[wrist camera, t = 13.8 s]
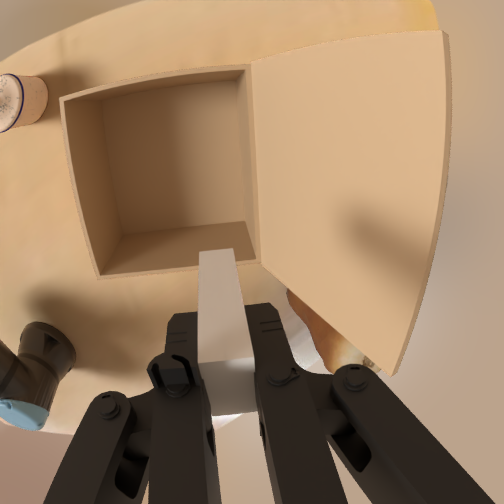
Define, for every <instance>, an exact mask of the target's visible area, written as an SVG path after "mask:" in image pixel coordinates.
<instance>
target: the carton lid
mask: <svg viewBox="0 0 504 504" xmlns="http://www.w3.org/2000/svg"><path fill="white" fill-rule="evenodd" d="M251 75H252V92H253V109H254V127H255V145H256V164H257V183H258V202H259V223H260V244H261V265H262V266H263V267H264V268H265V269H267V270H268V271H269V272H270V273H271V274H272V275H274V276H275V277H276V278H277V279H278V280H279V281H280V282H282V283H283V284H284V285H285V286H286V287H287V288H288V289H290V290H291V291H292V292H293V293H294V294H295V295H296V296H298V297H299V298H300V299H301V300H302V301H303V302H304V303H306V304H307V305H308V306H309V307H310V308H311V309H313V310H314V311H315V312H316V313H317V314H318V315H319V316H321V317H322V318H323V319H324V320H325V321H326V322H327V323H329V324H330V325H331V326H332V327H333V328H334V329H336V330H337V331H338V332H339V333H340V334H341V335H342V336H344V337H345V338H346V339H347V340H348V341H349V342H350V343H352V344H353V345H354V346H355V347H356V348H357V349H359V350H360V351H361V352H362V353H363V354H364V355H365V356H367V357H368V358H369V359H370V360H371V361H372V362H374V363H375V364H376V365H377V366H378V367H379V368H380V369H382V370H383V371H384V372H385V373H386V374H388V375H389V376H390V377H392V376H393V375H395V374H396V373H397V371H398V369H399V366H400V364H401V361H402V359H403V356H404V353H405V351H406V348H407V345H408V343H409V340H410V337H411V334H412V331H413V328H414V325H415V322H416V319H417V316H418V313H419V310H420V306H421V303H422V300H423V296H424V293H425V289H426V285H427V282H428V278H429V274H430V270H431V266H432V262H433V258H434V253H435V248H436V243H437V239H438V234H439V229H440V224H441V218H442V212H443V206H444V199H445V193H446V185H447V177H448V167H449V157H450V144H451V124H452V78H451V59H450V46H449V36H448V34H447V33H445V32H444V31H442V30H435V31H409V32H396V33H385V34H376V35H368V36H360V37H354V38H347V39H341V40H336V41H330V42H325V43H320V44H315V45H311V46H306V47H302V48H298V49H294V50H290V51H286V52H282V53H278V54H275V55H271V56H268V57H264V58H261V59H257V60H254V61H251Z"/></svg>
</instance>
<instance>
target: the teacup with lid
mask: <svg viewBox="0 0 504 504" xmlns="http://www.w3.org/2000/svg"><path fill="white" fill-rule="evenodd" d="M47 101H48V90H47V87H46V84H45V83H44V81H43V80H42V79H40V78H38V77H34V76H16V75H13V74H4V75H1V76H0V133H1V132H5V131H7V130H9V129H12V128H16V127H20V126H25V125H29V124H32V123H34V122H35V121H37V120H38V119H39V118H40V117H41V115H42V114H43V112H44V110H45V108H46V105H47Z"/></svg>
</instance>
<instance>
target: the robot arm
mask: <svg viewBox="0 0 504 504" xmlns="http://www.w3.org/2000/svg"><path fill="white" fill-rule="evenodd" d="M75 359H76V353H75V350H74V348H73V346H72V344H71V343H70V341H69V340H68V339H67V338H66V337H65V336H64V335H63V334H62V333H61V332H60V331H58V330H57V329H55V328H53V327H52V326H49V325H47V324H44V323H40V322H33V323H29V324H28V325H27V326H26V327H25V328H24V330H23V332H22V334H21V337H20V345H19V350H18V355H17V356H16V355H15V354H14V353H13V352H12V351H11V350H10V349H9V348H8V347H7V346H6V345H5V344H4V343H3V342H2V341H1V340H0V417H2V418H3V419H4V420H6V421H7V422H9V423H11V424H13V425H15V426H17V427H20V428H23V429H26V430H32V431H36V430H40V429H42V428H43V427H44V425H45V422H46V419H47V417H48V416H49V411H50V408H51V405H52V402H53V399H54V396H55V393H56V390H57V387H58V384H59V382H60V381H61V380H62V379H63V377H64V376H65V375H66V374H67V373H68V372H69V371H70V370H71V369H72V367H73V365H74V362H75ZM147 372H148V374H149V377H150V379H151V381H152V384H153V386H154V388H153V389H151V390H150V391H148V392H146V393H144V394H141V395H137V396H134V397H131V398H127V397H126V396H125V395H124V394H122V393H120V392H117V391H108V392H104V393H101V394H100V395H98V396H97V397H95V398H94V400H93V401H92V402H91V403H90V405H89V407H88V409H87V411H86V413H85V415H84V417H83V419H82V421H81V423H80V425H79V427H78V429H77V431H76V433H75V435H74V437H73V439H72V441H71V443H70V445H69V447H68V449H67V451H66V453H65V456H64V458H63V460H62V462H61V464H60V466H59V469H58V471H57V473H56V475H55V477H54V480H53V482H52V484H51V486H50V489H49V491H48V493H47V496H46V498H45V500H44V503H43V504H141V503H142V500H143V497H144V494H145V490H146V487H147V484H148V481H149V496H148V497H149V498H148V500H149V501H148V502H149V503H148V504H222V502H221V494H220V485H219V476H218V467H217V456H216V445H215V433H214V428H213V425H212V417H211V413H212V416H221V415H231V414H240V413H248V412H255V411H258V415H259V425H260V436H262V441H263V446H264V451H265V456H266V462H267V466H268V472H269V477H270V481H271V486H272V491H273V496H274V501H275V504H348V502H347V499H346V496H345V493H344V490H343V487H342V484H341V481H340V478H339V475H338V472H337V469H336V466H335V463H334V460H333V457H332V454H331V451H330V448H329V445H328V442H329V444H330V445H331V447H332V448H333V450H334V451H335V452H336V454H337V455H338V457H339V458H340V460H341V461H342V462H343V464H344V465H345V467H346V468H347V470H348V471H349V472H350V474H351V475H352V476H353V478H354V479H355V481H356V482H357V483H358V485H359V486H360V488H361V489H362V490H363V492H364V493H365V494H366V496H367V497H368V499H369V500H370V501H371V503H372V504H495V503H494V502H493V500H492V499H491V498H490V497H489V496H488V495H487V494H486V493H485V492H484V491H483V489H482V488H481V487H480V486H479V485H478V484H477V483H476V482H475V481H474V480H473V478H472V477H471V476H470V475H469V474H468V473H467V472H466V471H465V470H464V469H463V468H462V466H461V465H460V464H459V463H458V462H457V461H456V460H455V459H454V458H453V457H452V456H451V454H450V453H448V451H447V450H446V449H445V448H444V447H443V446H442V445H441V444H440V442H439V441H438V440H437V439H436V438H435V437H434V436H433V435H432V434H431V433H430V432H429V431H428V429H427V428H426V427H425V426H424V425H423V424H422V423H421V422H420V421H419V420H418V419H417V418H416V417H415V415H414V414H413V413H412V412H411V411H410V410H409V409H408V408H407V407H406V406H405V405H404V404H403V402H402V401H401V400H400V399H399V398H398V397H397V396H396V395H395V394H394V393H393V392H392V391H391V390H390V389H389V387H388V386H387V385H386V384H385V383H384V382H383V381H382V380H381V379H380V378H379V377H378V376H377V375H376V373H375V372H374V371H372V370H371V369H370V368H368V367H367V366H364V365H361V364H347V365H344V366H342V367H340V368H339V369H337V370H336V371H335V373H334V375H332V374H317V373H311V372H309V371H306V370H304V369H303V368H301V367H300V366H299V365H298V364H297V363H296V362H295V360H294V358H293V355H292V352H291V349H290V346H289V343H288V340H287V337H286V334H285V331H284V329H283V325H282V322H281V319H280V316H279V313H278V310H277V309H276V308H274V307H273V306H272V305H271V304H270V303H261V304H253V305H245V306H244V303H243V298H242V293H241V288H240V283H239V278H238V272H237V267H236V262H235V256H234V251H233V248H229V249H220V250H210V251H201V252H199V276H198V312H188V313H177V314H174V315H173V317H172V318H171V319H170V321H169V322H168V326H167V335H166V344H165V352H164V353H162V354H160V355H158V356H156V357H155V358H154V359H153V360H152V361H151V362H150V363H149V365H148V368H147ZM327 441H328V442H327Z"/></svg>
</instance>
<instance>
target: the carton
mask: <svg viewBox="0 0 504 504" xmlns="http://www.w3.org/2000/svg"><path fill="white" fill-rule="evenodd" d="M59 103H60V113H61V122H62V130H63V137H64V144H65V150H66V156H67V162H68V168H69V173H70V178H71V183H72V188H73V193H74V197H75V202H76V206H77V210H78V214H79V218H80V222H81V226H82V230H83V234H84V237H85V241H86V244H87V248H88V251H89V255H90V258H91V261H92V264H93V268H94V271H95V274H96V277H97V280H103V279H113V278H123V277H134V276H144V275H153V274H163V273H173V272H183V271H192V270H199V252H201V251H210V250H220V249H229V248H233V251H234V256H235V262H236V266H238V265H247V264H256V263H261V244H260V223H259V202H258V183H257V164H256V145H255V127H254V109H253V92H252V75H251V64H241V65H224V66H212V67H201V68H192V69H184V70H177V71H170V72H163V73H157V74H151V75H146V76H141V77H136V78H131V79H126V80H121V81H117V82H113V83H109V84H105V85H101V86H97V87H93V88H89V89H86V90H82V91H79V92H76V93H72V94H69V95H66V96H63V97H60V98H59Z"/></svg>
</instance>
